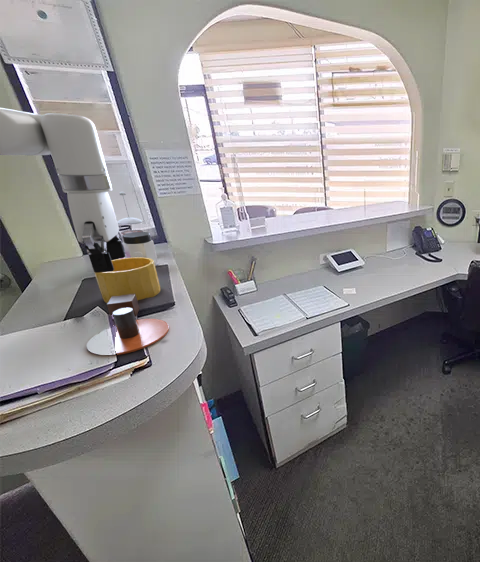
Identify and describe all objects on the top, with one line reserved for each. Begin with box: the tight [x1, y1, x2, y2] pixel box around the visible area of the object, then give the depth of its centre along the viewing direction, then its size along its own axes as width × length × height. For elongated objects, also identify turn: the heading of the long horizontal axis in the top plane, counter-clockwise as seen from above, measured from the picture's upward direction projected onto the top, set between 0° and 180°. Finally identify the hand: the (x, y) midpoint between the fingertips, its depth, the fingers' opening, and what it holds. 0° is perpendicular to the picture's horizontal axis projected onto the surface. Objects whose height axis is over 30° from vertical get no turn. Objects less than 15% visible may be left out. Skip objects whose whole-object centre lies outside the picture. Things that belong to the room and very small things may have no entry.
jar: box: [121, 231, 160, 267], centre depth 112 cm, size 9×8×12 cm
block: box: [106, 294, 141, 318], centre depth 79 cm, size 5×5×5 cm
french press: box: [117, 191, 144, 258], centre depth 121 cm, size 10×12×25 cm
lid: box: [112, 308, 170, 356], centre depth 69 cm, size 15×15×7 cm
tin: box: [92, 257, 161, 304], centre depth 90 cm, size 14×14×10 cm
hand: (111, 264), depth 68 cm, fingers open, 9 cm apart
